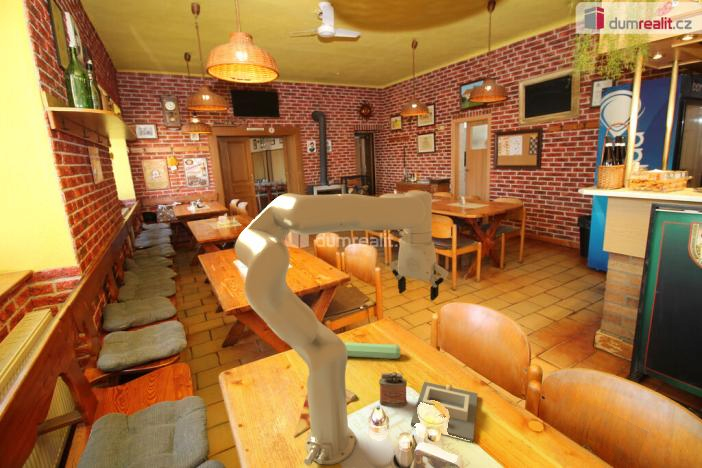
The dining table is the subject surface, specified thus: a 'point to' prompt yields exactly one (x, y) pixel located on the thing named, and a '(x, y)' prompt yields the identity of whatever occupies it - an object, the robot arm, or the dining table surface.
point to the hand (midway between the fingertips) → (417, 295)
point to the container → (373, 350)
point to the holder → (451, 408)
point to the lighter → (392, 390)
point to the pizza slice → (305, 417)
